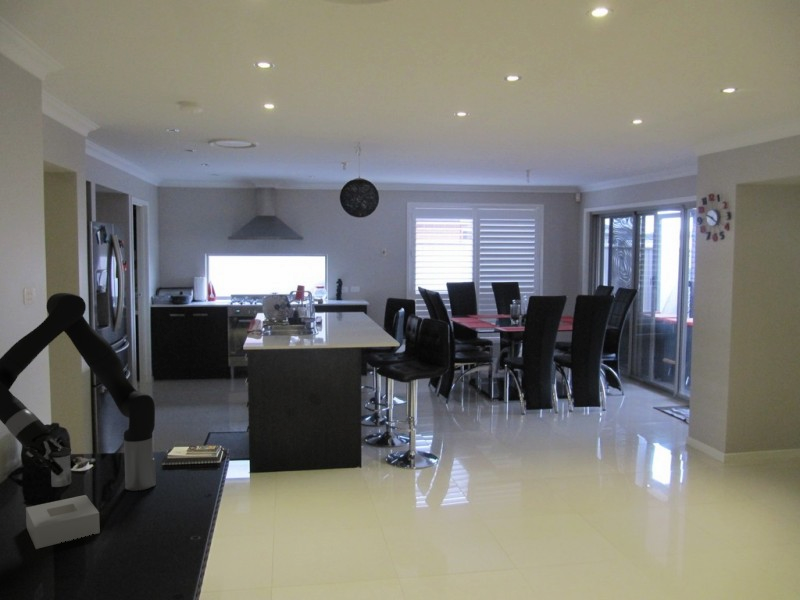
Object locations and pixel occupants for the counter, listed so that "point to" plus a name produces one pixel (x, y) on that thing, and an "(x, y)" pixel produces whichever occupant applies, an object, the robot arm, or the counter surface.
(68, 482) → the lens
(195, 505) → the counter surface
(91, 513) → the grey block with recess
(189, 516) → the counter surface
